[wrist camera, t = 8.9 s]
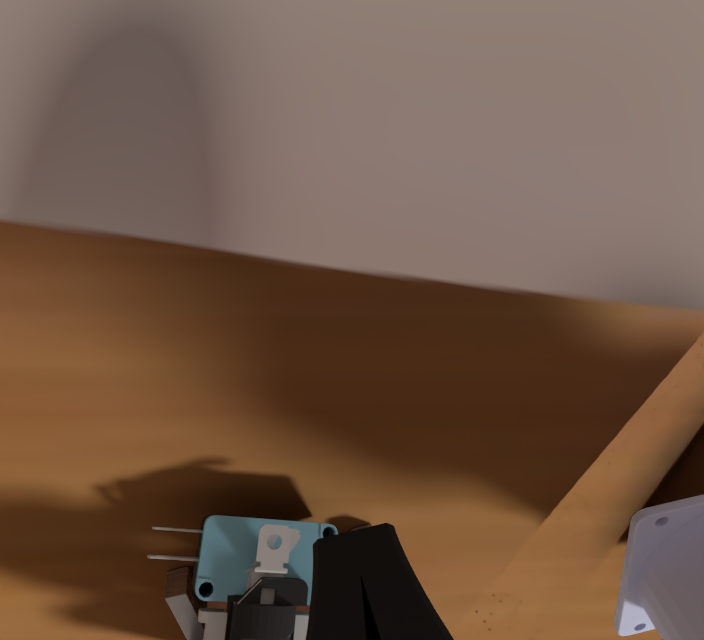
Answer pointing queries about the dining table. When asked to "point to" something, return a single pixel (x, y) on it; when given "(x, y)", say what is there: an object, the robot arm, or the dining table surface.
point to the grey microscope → (254, 575)
